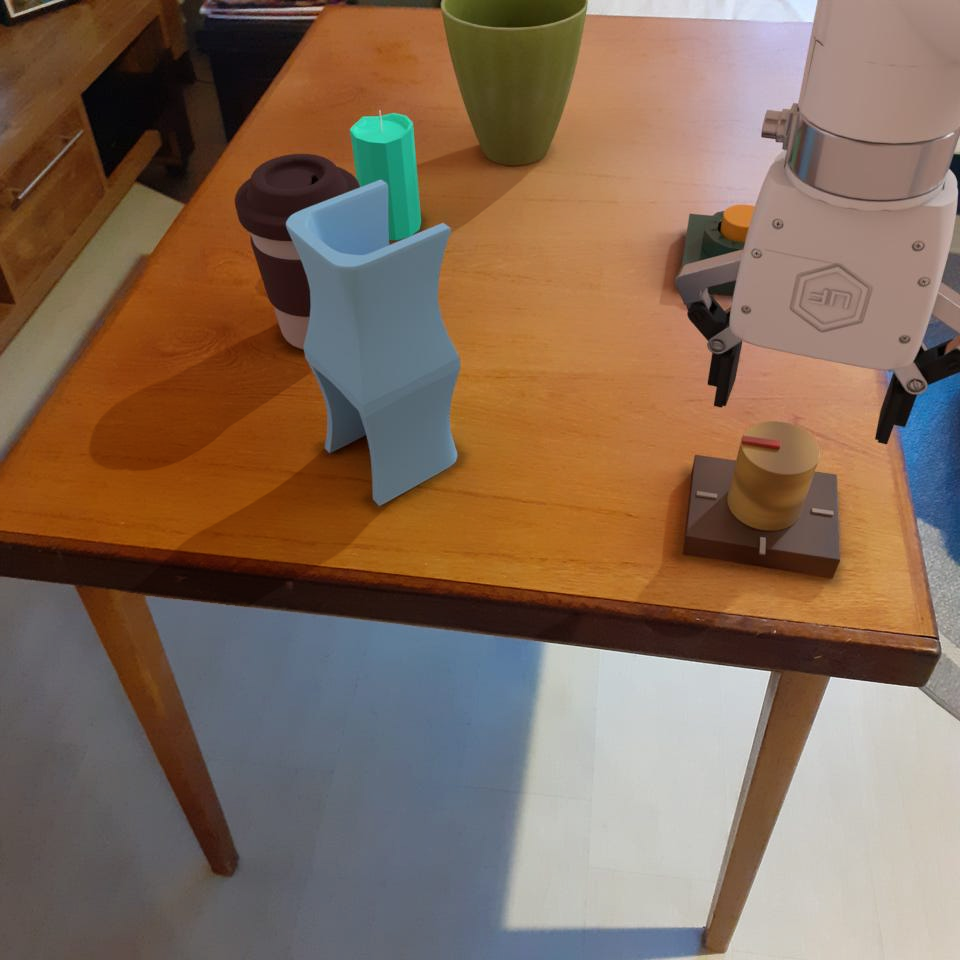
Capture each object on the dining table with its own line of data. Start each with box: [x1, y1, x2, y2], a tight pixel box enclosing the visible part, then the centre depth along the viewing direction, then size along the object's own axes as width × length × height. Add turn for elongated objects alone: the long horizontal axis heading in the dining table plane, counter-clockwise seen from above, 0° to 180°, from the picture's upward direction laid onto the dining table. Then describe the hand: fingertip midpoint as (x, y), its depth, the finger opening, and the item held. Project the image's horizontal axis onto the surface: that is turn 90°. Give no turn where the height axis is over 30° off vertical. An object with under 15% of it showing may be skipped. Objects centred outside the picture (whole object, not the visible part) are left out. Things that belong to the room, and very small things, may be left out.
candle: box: [349, 109, 422, 242], centre depth 90 cm, size 6×6×12 cm
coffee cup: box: [234, 153, 360, 351], centre depth 77 cm, size 10×10×15 cm
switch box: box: [681, 210, 745, 297], centre depth 86 cm, size 10×10×4 cm
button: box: [720, 204, 755, 242], centre depth 84 cm, size 4×4×2 cm
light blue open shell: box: [286, 180, 461, 507], centre depth 64 cm, size 8×8×20 cm
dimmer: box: [682, 454, 841, 579], centre depth 64 cm, size 10×9×2 cm
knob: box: [727, 420, 821, 531], centre depth 62 cm, size 5×5×6 cm
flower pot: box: [440, 0, 589, 166], centre depth 99 cm, size 15×15×16 cm
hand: (801, 410), depth 57 cm, fingers open, 9 cm apart
